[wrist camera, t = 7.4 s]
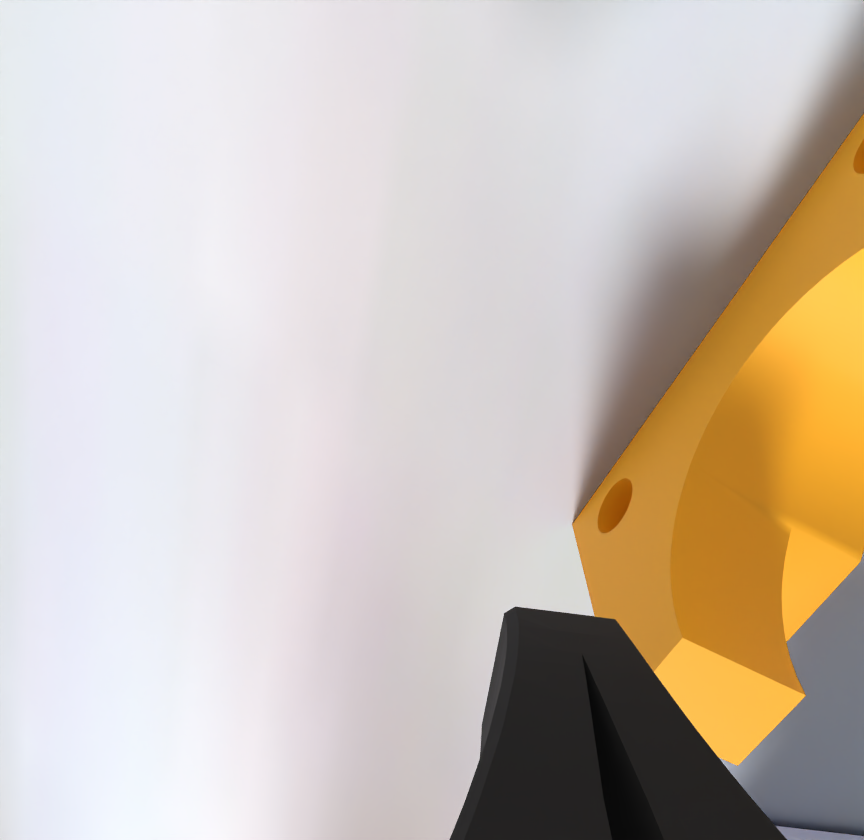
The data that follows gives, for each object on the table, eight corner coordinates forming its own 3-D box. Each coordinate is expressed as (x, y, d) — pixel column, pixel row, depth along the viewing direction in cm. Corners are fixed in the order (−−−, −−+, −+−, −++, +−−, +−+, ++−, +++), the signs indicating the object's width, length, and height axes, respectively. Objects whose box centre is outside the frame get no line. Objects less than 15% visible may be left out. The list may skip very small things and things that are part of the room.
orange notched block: (712, 589, 20) (814, 800, 14) (571, 521, 20) (618, 713, 14) (1063, 168, 16) (1423, 224, 10) (897, 60, 15) (1177, 51, 9)
